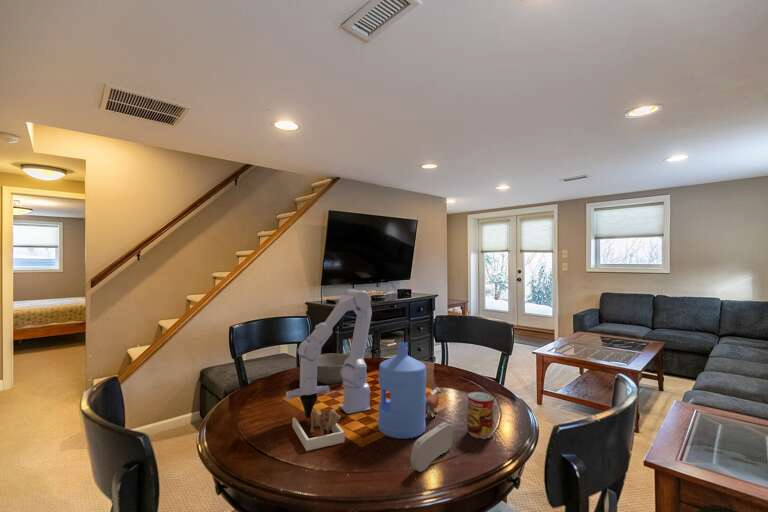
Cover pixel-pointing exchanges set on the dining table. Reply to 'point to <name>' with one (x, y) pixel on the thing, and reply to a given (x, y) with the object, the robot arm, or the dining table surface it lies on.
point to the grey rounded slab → (431, 446)
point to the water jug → (402, 395)
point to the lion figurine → (324, 420)
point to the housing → (321, 440)
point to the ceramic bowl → (330, 367)
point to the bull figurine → (432, 401)
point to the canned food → (480, 413)
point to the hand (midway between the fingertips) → (307, 416)
